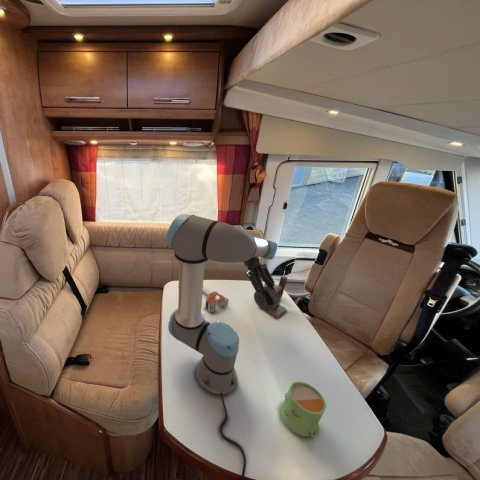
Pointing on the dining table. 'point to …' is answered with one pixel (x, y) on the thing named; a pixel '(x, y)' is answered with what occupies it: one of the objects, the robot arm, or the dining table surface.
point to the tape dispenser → (211, 296)
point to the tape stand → (279, 290)
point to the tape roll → (262, 303)
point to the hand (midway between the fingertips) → (273, 302)
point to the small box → (274, 283)
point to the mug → (303, 409)
